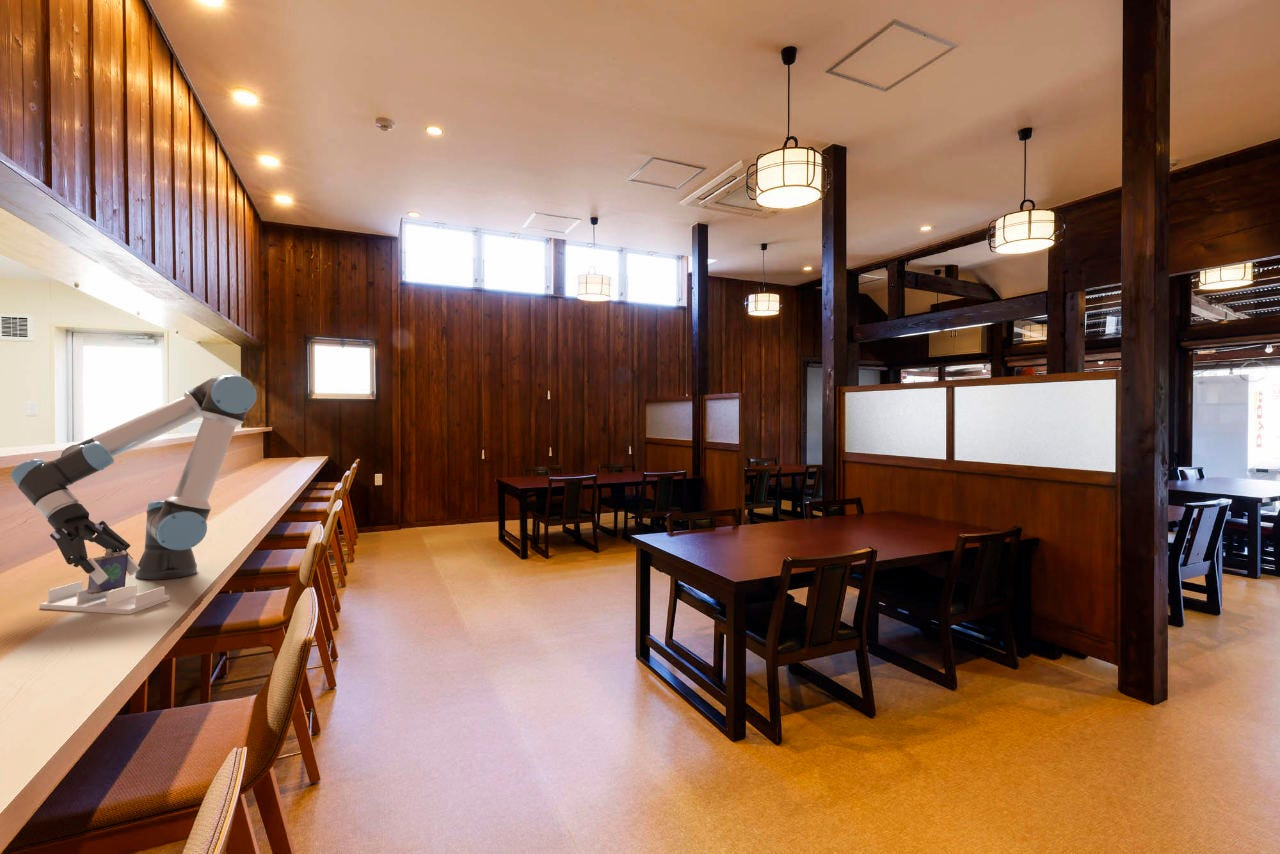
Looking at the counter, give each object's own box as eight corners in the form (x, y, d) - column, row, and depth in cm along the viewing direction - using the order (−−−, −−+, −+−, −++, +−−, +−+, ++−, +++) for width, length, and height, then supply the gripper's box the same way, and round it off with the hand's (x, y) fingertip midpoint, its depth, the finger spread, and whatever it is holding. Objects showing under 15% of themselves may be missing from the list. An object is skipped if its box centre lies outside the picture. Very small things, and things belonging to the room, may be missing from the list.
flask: (92, 595, 154) (96, 552, 154) (83, 594, 155) (86, 551, 155) (128, 586, 163) (131, 546, 163) (118, 585, 164) (121, 545, 164)
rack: (86, 594, 166) (87, 579, 166) (169, 599, 166) (170, 584, 166) (39, 608, 153) (40, 591, 153) (129, 614, 153) (130, 597, 153)
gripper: (90, 515, 170) (142, 575, 170) (9, 527, 148) (69, 597, 148) (110, 497, 170) (163, 558, 170) (33, 507, 148) (93, 576, 148)
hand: (119, 576), depth 159 cm, fingers closed on flask, 9 cm apart
